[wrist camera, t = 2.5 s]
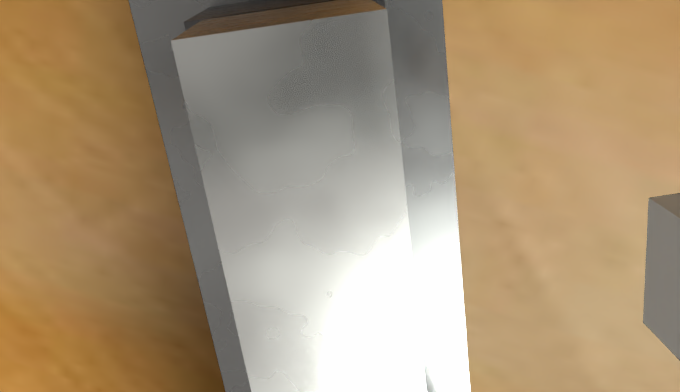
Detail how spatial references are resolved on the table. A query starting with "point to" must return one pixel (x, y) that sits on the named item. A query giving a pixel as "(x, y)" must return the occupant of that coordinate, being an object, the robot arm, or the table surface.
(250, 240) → the light grey square rod
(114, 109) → the table surface
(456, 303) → the grey slotted frame stand
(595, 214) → the table surface
